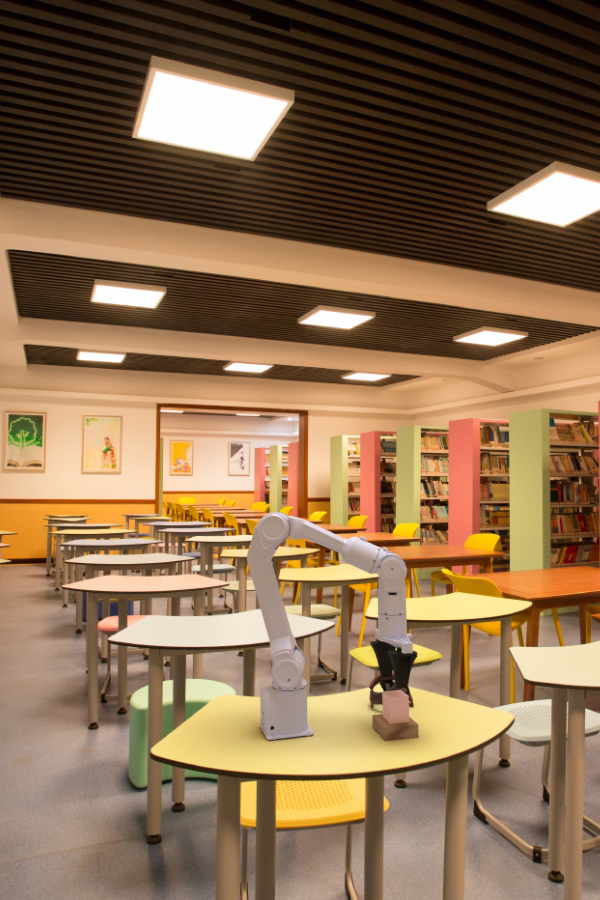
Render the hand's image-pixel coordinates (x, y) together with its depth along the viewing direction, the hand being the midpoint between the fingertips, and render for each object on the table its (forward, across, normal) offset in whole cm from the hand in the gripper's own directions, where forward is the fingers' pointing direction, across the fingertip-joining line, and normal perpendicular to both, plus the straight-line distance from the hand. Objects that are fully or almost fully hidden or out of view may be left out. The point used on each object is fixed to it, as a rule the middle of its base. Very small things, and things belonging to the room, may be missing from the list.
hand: (393, 682), depth 118 cm
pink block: (+7, 0, 0) cm, 7 cm away
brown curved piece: (+10, +16, -6) cm, 20 cm away
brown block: (+10, 0, 0) cm, 10 cm away
